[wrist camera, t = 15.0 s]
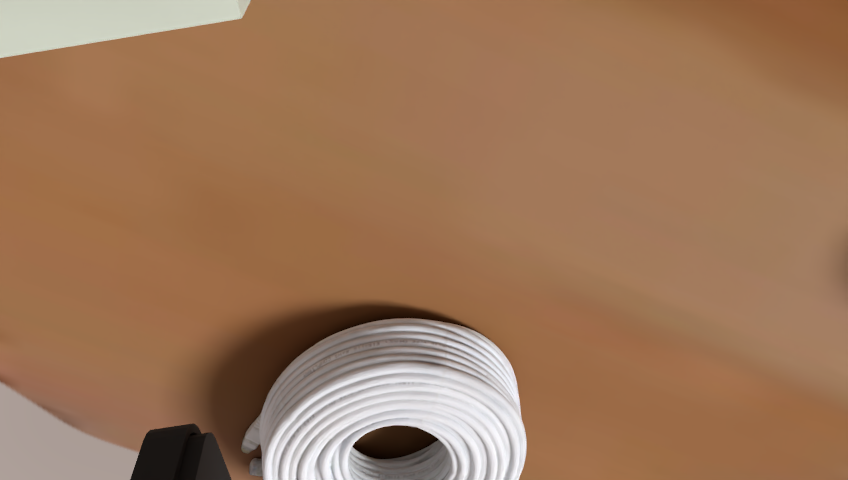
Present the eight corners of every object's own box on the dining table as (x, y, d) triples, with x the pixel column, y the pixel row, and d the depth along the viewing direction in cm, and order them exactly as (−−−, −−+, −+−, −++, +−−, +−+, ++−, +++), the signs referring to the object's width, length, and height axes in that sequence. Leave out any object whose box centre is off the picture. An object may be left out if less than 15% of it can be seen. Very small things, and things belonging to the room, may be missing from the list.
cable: (228, 459, 51) (214, 532, 46) (319, 267, 44) (315, 329, 39) (447, 513, 56) (457, 585, 51) (563, 350, 49) (588, 414, 44)
